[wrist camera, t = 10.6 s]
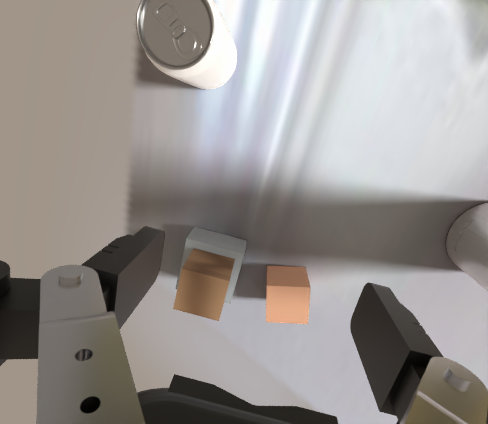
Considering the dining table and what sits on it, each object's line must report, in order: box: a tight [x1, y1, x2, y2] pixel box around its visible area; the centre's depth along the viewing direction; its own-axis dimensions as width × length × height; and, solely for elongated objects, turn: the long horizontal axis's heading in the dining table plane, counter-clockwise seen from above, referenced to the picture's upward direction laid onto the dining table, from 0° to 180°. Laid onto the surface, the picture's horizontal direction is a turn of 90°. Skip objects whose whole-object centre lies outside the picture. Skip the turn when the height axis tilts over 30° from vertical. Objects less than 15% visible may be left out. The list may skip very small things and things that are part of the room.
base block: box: [176, 227, 247, 303], centre depth 38 cm, size 7×7×4 cm
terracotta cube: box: [266, 266, 310, 324], centre depth 38 cm, size 5×5×5 cm
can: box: [136, 0, 237, 89], centre depth 27 cm, size 6×6×12 cm
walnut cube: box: [173, 248, 235, 321], centre depth 33 cm, size 5×5×5 cm
